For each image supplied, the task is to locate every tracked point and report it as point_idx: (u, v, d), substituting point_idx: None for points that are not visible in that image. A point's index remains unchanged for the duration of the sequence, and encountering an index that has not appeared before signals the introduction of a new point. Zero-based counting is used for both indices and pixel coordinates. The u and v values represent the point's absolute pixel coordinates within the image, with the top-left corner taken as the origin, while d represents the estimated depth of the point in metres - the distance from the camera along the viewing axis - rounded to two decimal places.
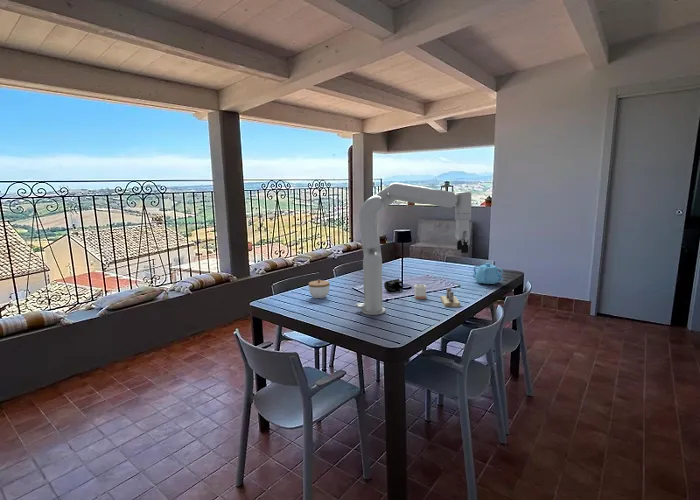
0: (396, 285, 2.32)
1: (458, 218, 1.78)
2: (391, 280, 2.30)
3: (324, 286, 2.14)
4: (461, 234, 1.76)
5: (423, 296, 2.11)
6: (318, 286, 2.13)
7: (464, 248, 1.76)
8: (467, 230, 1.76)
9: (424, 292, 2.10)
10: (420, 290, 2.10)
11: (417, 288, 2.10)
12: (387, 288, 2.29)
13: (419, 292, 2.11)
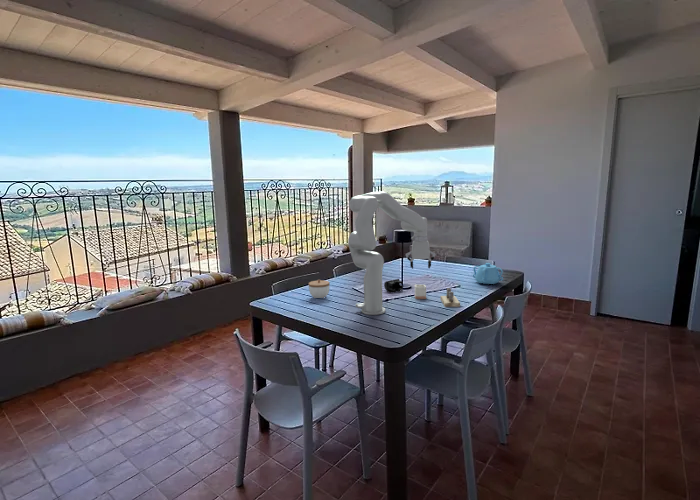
0: (396, 285, 2.32)
1: (425, 240, 2.06)
2: (391, 280, 2.30)
3: (324, 286, 2.14)
4: (429, 253, 2.08)
5: (423, 296, 2.11)
6: (318, 286, 2.13)
7: (430, 264, 2.10)
8: None
9: (424, 292, 2.10)
10: (420, 290, 2.10)
11: (417, 288, 2.10)
12: (387, 288, 2.29)
13: (419, 292, 2.11)
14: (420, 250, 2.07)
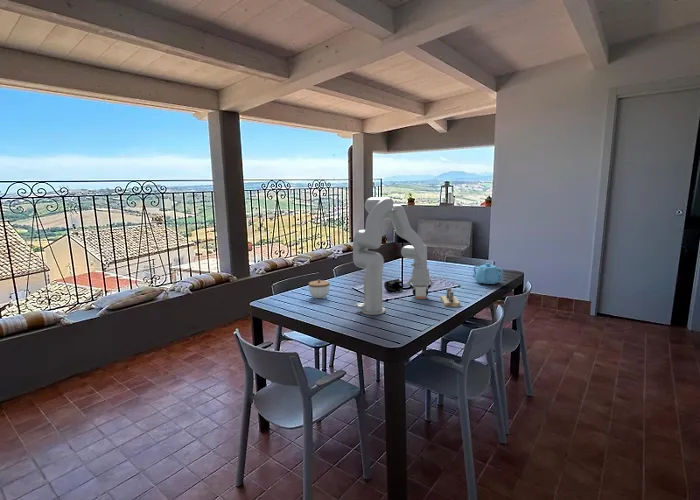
0: (396, 285, 2.32)
1: (425, 267, 2.08)
2: (391, 280, 2.30)
3: (324, 286, 2.14)
4: (429, 279, 2.10)
5: (423, 296, 2.11)
6: (318, 286, 2.13)
7: (427, 292, 2.13)
8: None
9: (424, 292, 2.10)
10: (420, 290, 2.10)
11: (417, 288, 2.10)
12: (387, 288, 2.29)
13: (419, 292, 2.11)
14: (420, 277, 2.10)
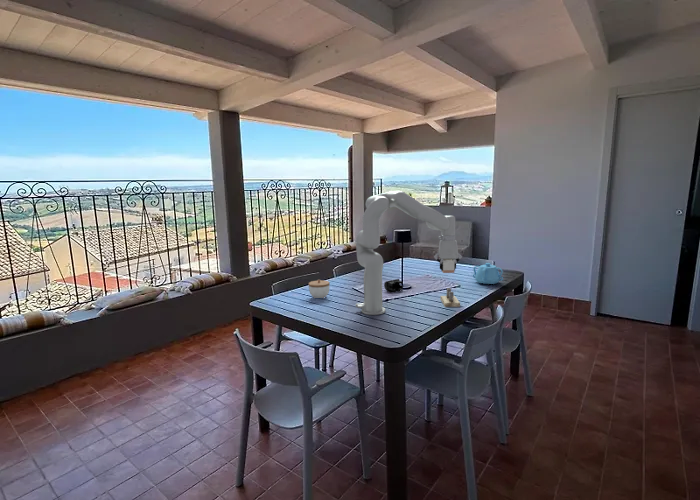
0: (396, 285, 2.32)
1: (453, 239, 1.98)
2: (391, 280, 2.30)
3: (324, 286, 2.14)
4: (457, 252, 2.00)
5: (451, 270, 2.00)
6: (318, 286, 2.13)
7: None
8: None
9: (452, 266, 2.00)
10: (448, 264, 2.00)
11: (445, 261, 2.00)
12: (387, 288, 2.29)
13: (447, 266, 2.00)
14: (448, 250, 1.99)
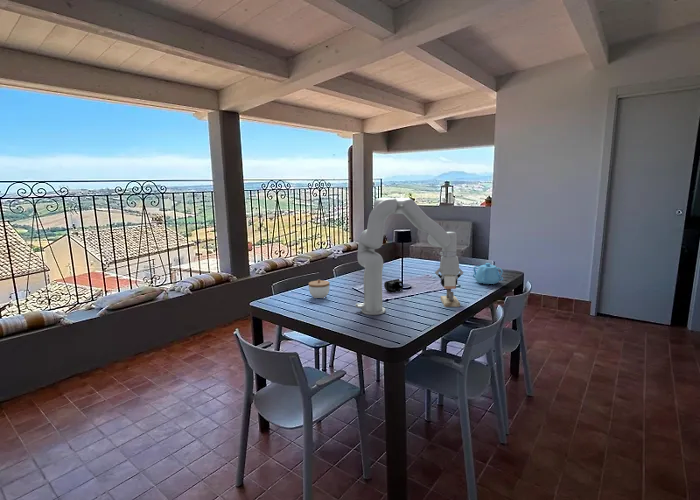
0: (396, 285, 2.32)
1: (455, 255, 1.99)
2: (391, 280, 2.30)
3: (324, 286, 2.14)
4: (459, 268, 2.01)
5: (452, 286, 2.01)
6: (318, 286, 2.13)
7: None
8: None
9: (453, 282, 2.01)
10: (449, 280, 2.01)
11: (446, 277, 2.01)
12: (387, 288, 2.29)
13: (448, 282, 2.01)
14: (449, 266, 2.00)
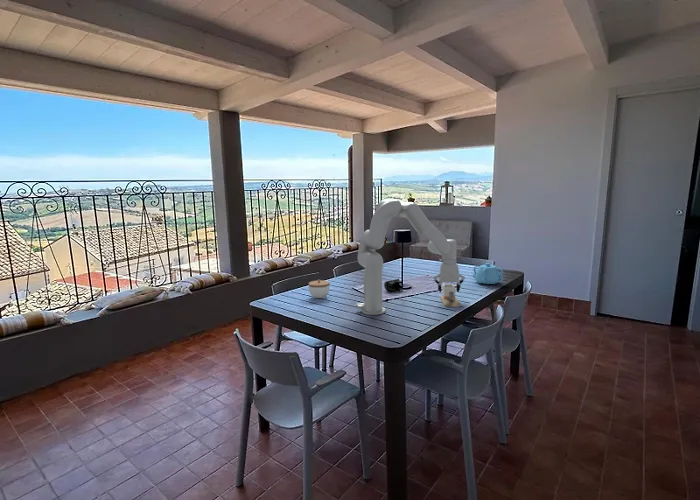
0: (396, 285, 2.32)
1: (454, 263, 1.99)
2: (391, 280, 2.30)
3: (324, 286, 2.14)
4: (458, 276, 2.01)
5: None
6: (318, 286, 2.13)
7: None
8: None
9: None
10: (449, 290, 2.01)
11: (446, 288, 2.01)
12: (387, 288, 2.29)
13: (448, 292, 2.02)
14: (449, 273, 2.00)
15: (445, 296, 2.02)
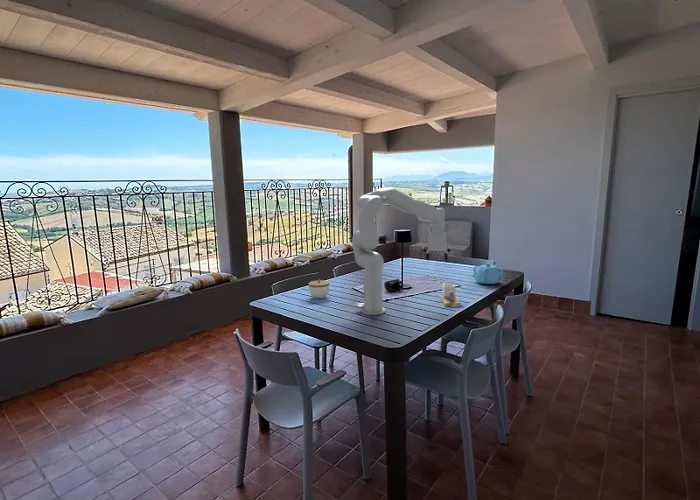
0: (396, 285, 2.32)
1: (442, 231, 2.01)
2: (391, 280, 2.30)
3: (324, 286, 2.14)
4: (446, 244, 2.03)
5: None
6: (318, 286, 2.13)
7: (447, 256, 2.05)
8: None
9: None
10: (449, 290, 2.01)
11: (446, 288, 2.01)
12: (387, 288, 2.29)
13: (448, 292, 2.02)
14: (437, 241, 2.02)
15: (445, 296, 2.02)
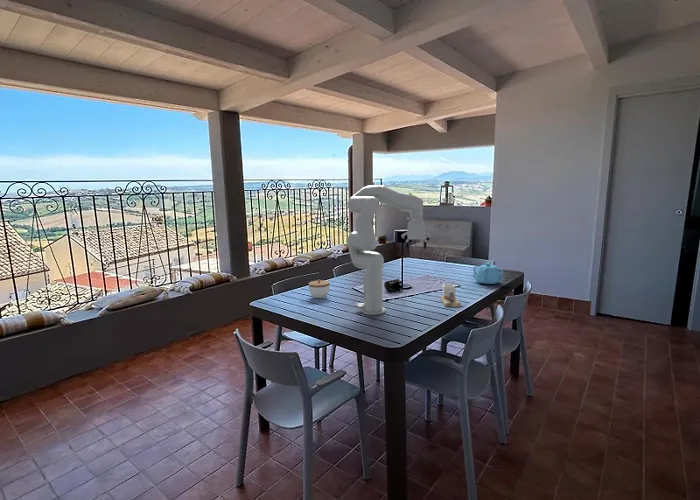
0: (396, 285, 2.32)
1: (421, 220, 2.09)
2: (391, 280, 2.30)
3: (324, 286, 2.14)
4: (425, 233, 2.11)
5: None
6: (318, 286, 2.13)
7: None
8: None
9: None
10: (449, 290, 2.01)
11: (446, 288, 2.01)
12: (387, 288, 2.29)
13: (448, 292, 2.02)
14: (416, 230, 2.10)
15: (445, 296, 2.02)
